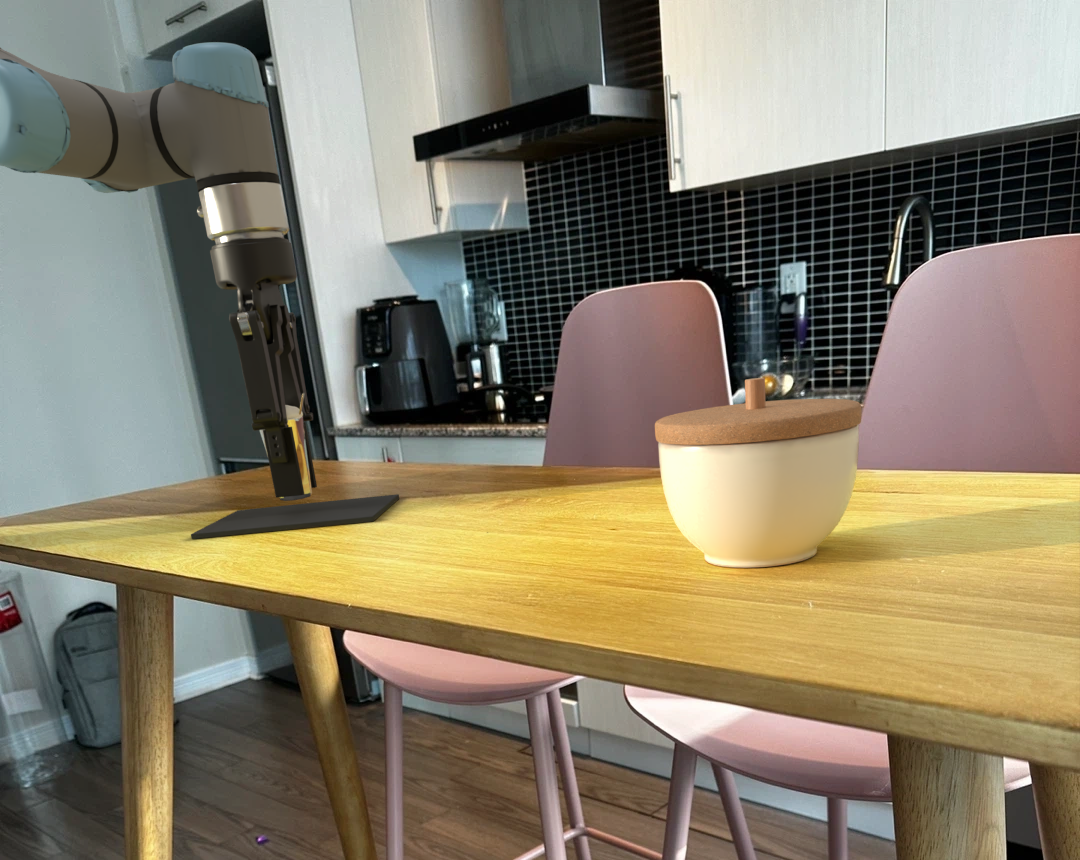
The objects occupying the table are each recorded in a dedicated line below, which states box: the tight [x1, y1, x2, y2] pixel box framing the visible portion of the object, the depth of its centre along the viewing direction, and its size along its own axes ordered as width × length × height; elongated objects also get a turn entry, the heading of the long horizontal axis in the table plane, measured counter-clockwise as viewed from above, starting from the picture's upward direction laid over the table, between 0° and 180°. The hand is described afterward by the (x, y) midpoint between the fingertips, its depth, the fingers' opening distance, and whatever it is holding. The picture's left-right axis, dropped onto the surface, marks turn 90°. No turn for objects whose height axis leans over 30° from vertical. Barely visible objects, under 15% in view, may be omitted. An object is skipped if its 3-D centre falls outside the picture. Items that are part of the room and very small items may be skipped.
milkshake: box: [259, 393, 313, 502], centre depth 103 cm, size 4×5×10 cm
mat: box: [190, 493, 400, 540], centre depth 105 cm, size 18×14×1 cm
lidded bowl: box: [654, 377, 863, 569], centre depth 65 cm, size 13×13×11 cm
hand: (296, 491), depth 104 cm, fingers closed on milkshake, 4 cm apart
